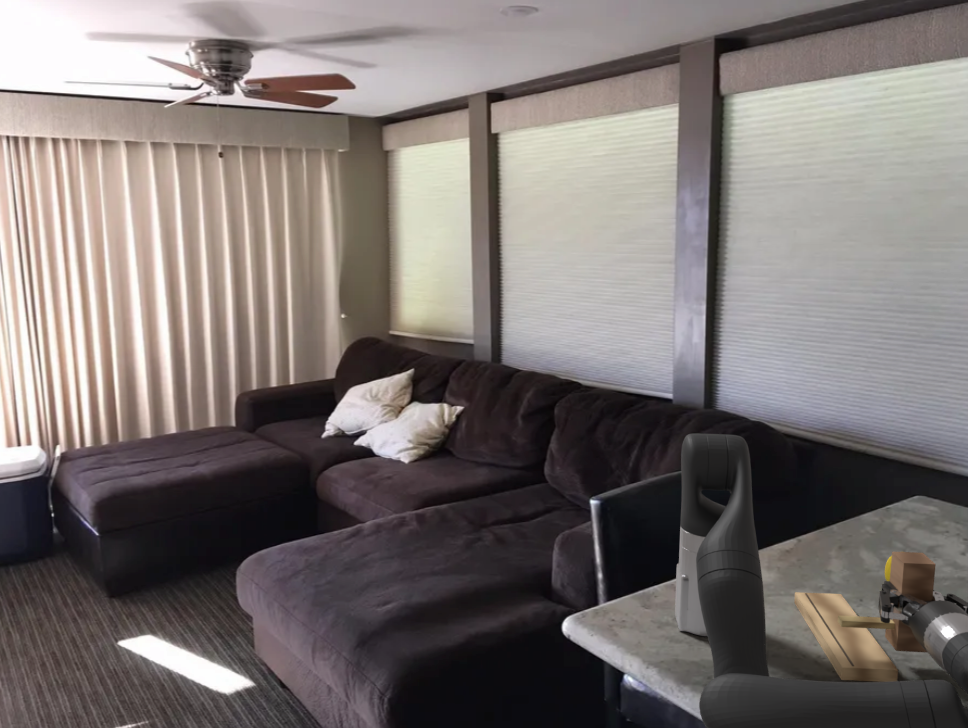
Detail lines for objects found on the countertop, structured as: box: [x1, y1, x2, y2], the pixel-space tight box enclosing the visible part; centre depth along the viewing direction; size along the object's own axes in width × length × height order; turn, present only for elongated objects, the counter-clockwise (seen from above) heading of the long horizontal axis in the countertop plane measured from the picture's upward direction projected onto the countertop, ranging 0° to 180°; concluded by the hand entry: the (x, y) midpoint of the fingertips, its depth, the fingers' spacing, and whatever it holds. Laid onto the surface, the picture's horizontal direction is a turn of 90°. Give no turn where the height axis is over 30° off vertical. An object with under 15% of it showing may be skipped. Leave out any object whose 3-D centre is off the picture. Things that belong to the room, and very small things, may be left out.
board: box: [794, 591, 899, 682], centre depth 136 cm, size 8×26×2 cm, turn 174°
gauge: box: [838, 551, 936, 653], centre depth 126 cm, size 12×4×14 cm, turn 84°
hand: (903, 587), depth 128 cm, fingers closed on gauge, 4 cm apart
